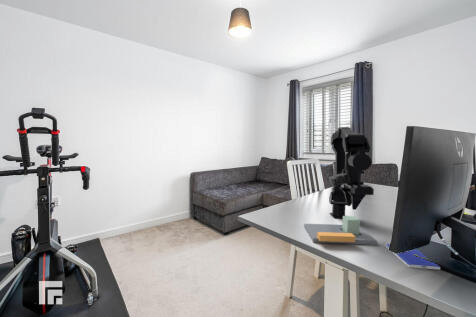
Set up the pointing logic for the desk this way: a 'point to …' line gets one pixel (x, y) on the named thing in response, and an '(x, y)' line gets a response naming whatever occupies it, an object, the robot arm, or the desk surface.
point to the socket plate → (359, 239)
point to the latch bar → (335, 237)
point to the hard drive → (415, 260)
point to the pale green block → (351, 225)
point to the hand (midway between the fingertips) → (351, 207)
